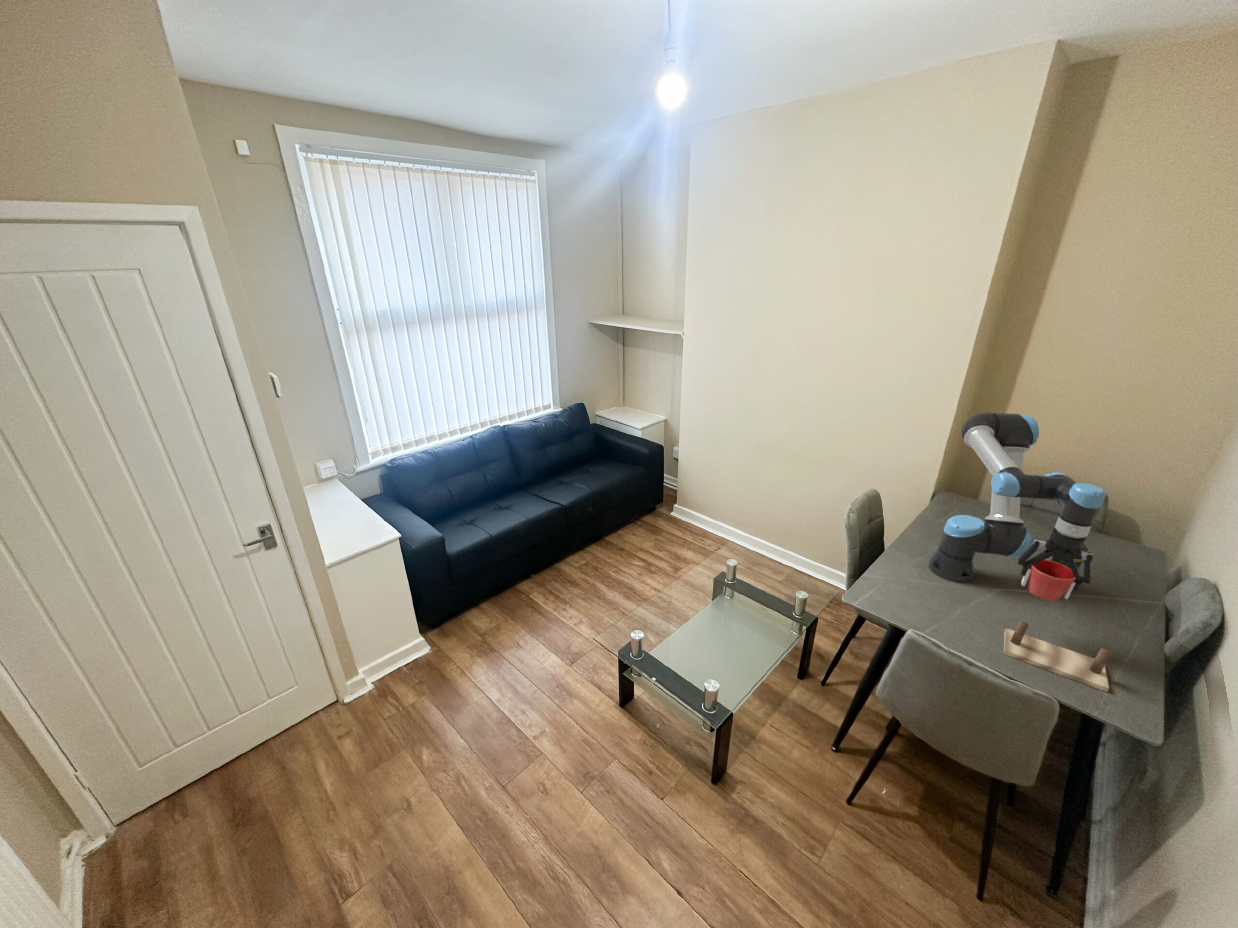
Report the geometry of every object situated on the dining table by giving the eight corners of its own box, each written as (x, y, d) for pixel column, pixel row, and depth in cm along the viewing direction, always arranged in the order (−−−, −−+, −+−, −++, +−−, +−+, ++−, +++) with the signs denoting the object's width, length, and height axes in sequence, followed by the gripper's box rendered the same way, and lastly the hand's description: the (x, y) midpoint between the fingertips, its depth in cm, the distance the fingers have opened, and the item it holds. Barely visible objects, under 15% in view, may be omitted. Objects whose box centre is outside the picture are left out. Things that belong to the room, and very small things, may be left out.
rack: (1003, 653, 150) (1013, 631, 146) (1004, 631, 158) (1013, 609, 154) (1107, 692, 136) (1121, 668, 132) (1101, 665, 145) (1114, 642, 141)
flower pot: (1021, 578, 160) (1031, 554, 156) (1064, 591, 154) (1075, 567, 149) (1021, 594, 153) (1031, 570, 148) (1065, 609, 146) (1077, 584, 142)
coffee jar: (1064, 595, 174) (1084, 553, 166) (1038, 583, 180) (1056, 543, 172) (1073, 585, 179) (1092, 544, 171) (1047, 574, 185) (1064, 534, 177)
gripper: (1023, 526, 147) (1000, 582, 156) (1123, 550, 134) (1092, 610, 144) (1022, 515, 152) (1000, 571, 162) (1119, 538, 139) (1089, 597, 149)
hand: (1043, 589), depth 153 cm, fingers closed on flower pot, 10 cm apart
